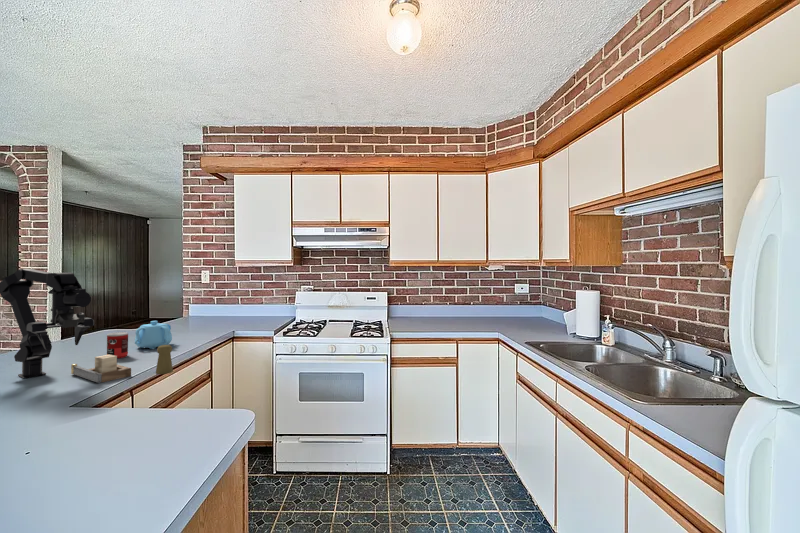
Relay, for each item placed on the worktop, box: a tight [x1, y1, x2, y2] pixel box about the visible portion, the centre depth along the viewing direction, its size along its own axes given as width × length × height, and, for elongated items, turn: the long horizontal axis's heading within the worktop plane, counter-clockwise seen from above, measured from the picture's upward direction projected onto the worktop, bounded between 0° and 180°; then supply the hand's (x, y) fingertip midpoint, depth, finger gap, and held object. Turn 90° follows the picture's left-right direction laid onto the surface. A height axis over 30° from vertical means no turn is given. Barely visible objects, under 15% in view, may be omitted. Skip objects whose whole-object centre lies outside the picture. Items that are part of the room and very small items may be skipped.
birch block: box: [94, 354, 118, 373], centre depth 151 cm, size 5×5×8 cm
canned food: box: [106, 331, 129, 359], centre depth 181 cm, size 8×8×11 cm
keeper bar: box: [70, 363, 102, 383], centre depth 148 cm, size 21×2×4 cm, turn 60°
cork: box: [155, 344, 174, 375], centre depth 159 cm, size 6×6×11 cm
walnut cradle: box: [88, 363, 132, 383], centre depth 151 cm, size 12×10×3 cm
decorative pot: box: [134, 320, 173, 350], centre depth 204 cm, size 16×16×14 cm
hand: (61, 347), depth 147 cm, fingers open, 9 cm apart
